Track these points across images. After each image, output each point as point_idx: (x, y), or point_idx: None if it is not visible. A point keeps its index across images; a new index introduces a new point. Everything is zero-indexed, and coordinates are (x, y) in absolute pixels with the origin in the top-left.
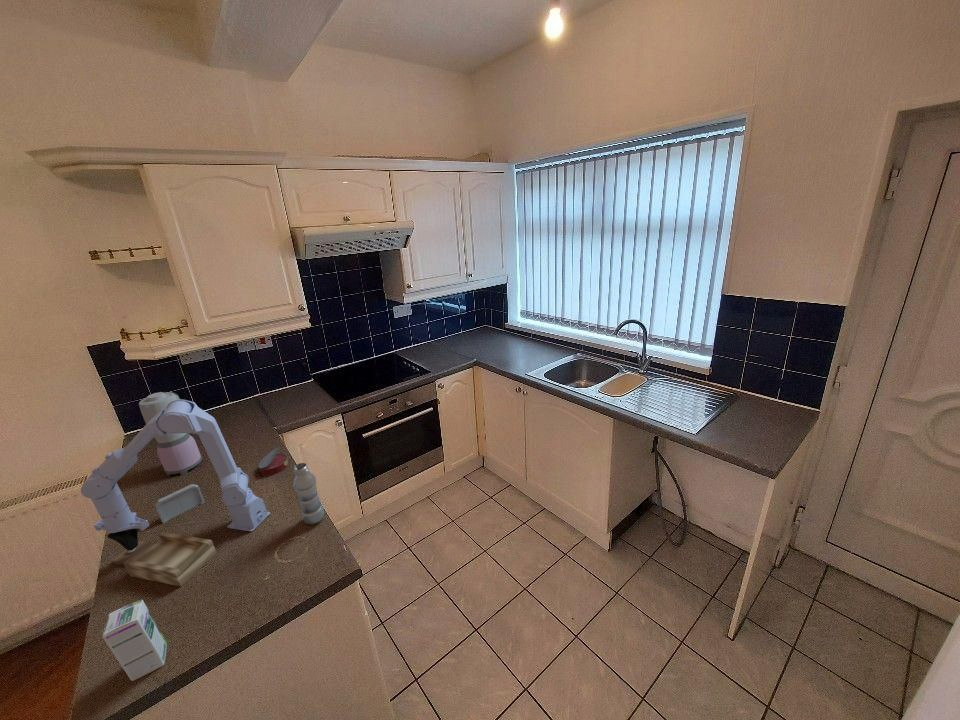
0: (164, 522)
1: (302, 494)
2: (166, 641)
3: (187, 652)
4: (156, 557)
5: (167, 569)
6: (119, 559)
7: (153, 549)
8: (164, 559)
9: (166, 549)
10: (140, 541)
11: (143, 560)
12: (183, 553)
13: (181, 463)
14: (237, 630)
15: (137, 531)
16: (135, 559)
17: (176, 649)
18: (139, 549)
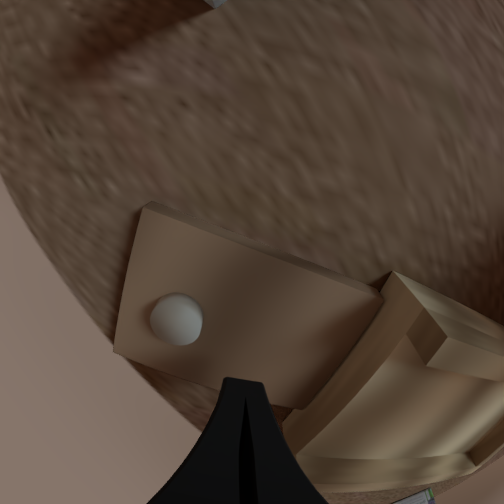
0: (223, 2)
1: None
2: (431, 490)
3: (451, 483)
4: (407, 429)
5: (458, 474)
6: (152, 357)
7: (379, 397)
8: (438, 431)
9: (443, 395)
10: (172, 224)
11: (353, 443)
12: (492, 404)
13: None
14: (501, 454)
15: (313, 492)
16: (258, 378)
17: (440, 486)
18: (227, 310)
